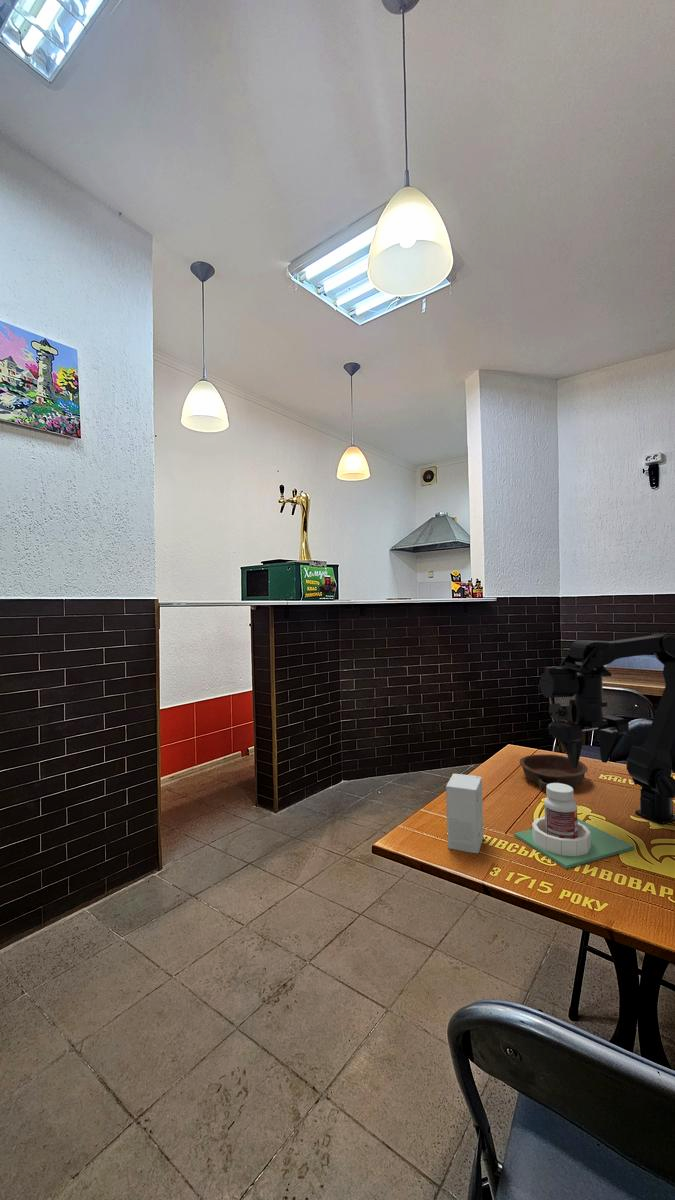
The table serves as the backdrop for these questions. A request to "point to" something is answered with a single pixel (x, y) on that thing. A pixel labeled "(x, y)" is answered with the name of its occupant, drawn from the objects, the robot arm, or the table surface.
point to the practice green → (573, 844)
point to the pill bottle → (560, 811)
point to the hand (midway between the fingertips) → (589, 765)
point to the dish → (552, 770)
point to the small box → (464, 813)
